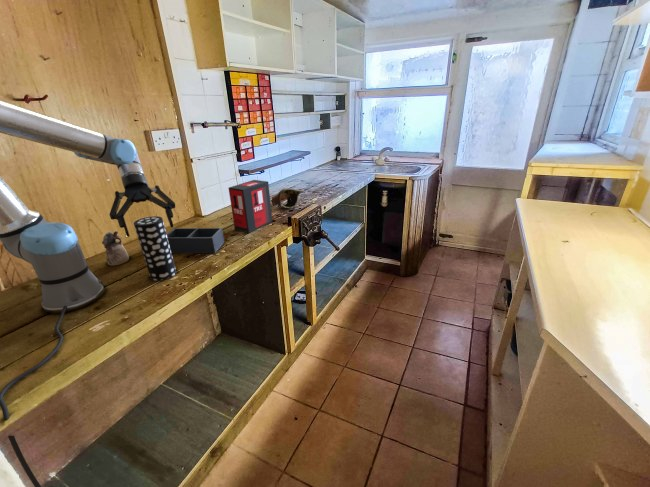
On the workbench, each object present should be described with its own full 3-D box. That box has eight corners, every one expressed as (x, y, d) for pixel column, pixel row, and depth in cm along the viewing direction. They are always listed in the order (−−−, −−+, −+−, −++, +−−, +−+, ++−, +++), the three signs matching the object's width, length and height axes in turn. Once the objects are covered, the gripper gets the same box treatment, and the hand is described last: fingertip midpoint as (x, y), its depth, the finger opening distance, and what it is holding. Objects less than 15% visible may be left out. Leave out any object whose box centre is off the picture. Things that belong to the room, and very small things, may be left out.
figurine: (110, 258, 121) (100, 230, 116) (130, 255, 124) (122, 227, 119) (105, 267, 115) (95, 237, 110) (127, 263, 117) (118, 234, 113)
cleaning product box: (249, 232, 142) (243, 189, 134) (234, 229, 146) (228, 187, 138) (272, 221, 155) (268, 181, 147) (258, 218, 159) (254, 179, 151)
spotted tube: (166, 281, 104) (150, 225, 96) (144, 279, 106) (127, 224, 98) (181, 269, 112) (167, 216, 104) (160, 267, 113) (146, 215, 105)
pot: (282, 184, 186) (298, 179, 172) (292, 200, 190) (308, 197, 176) (260, 199, 178) (275, 195, 163) (271, 216, 182) (286, 214, 167)
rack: (215, 253, 123) (212, 237, 121) (165, 253, 125) (161, 238, 122) (224, 242, 133) (221, 227, 130) (177, 242, 134) (174, 228, 132)
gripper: (171, 179, 121) (188, 226, 116) (94, 190, 108) (109, 243, 103) (170, 167, 115) (188, 217, 110) (89, 177, 102) (105, 233, 97)
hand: (150, 230), depth 107 cm, fingers open, 13 cm apart
